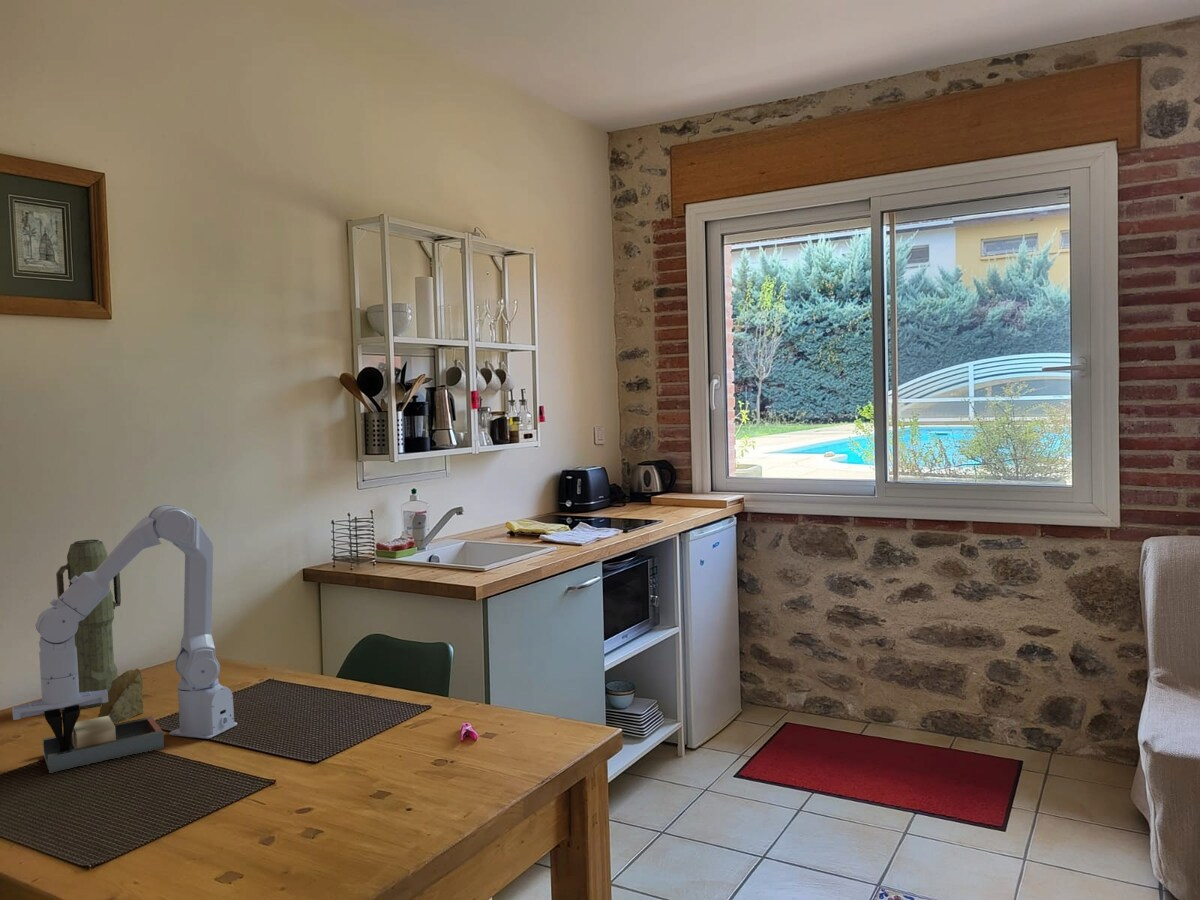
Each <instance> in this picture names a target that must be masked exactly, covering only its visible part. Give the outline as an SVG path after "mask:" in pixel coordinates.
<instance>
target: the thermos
mask: <svg viewBox="0 0 1200 900" xmlns="http://www.w3.org/2000/svg"><path fill="white" fill-rule="evenodd" d="M67 552H68V553H67V555H66V559H67V560H66V561H67V562H66V565H61V566H60V567H59V569H58V570H57V572H56V573H55V575H56V576H55V577H56V590H57V591H56V592H57V599H58V598H59V597H60V596H61V595H62V594H63V593H64V592H65V584H64V574H65V571H66V570H67V578H68V579H67V580H68V582H69V585H68V588H69V587H70V586H71V584H72V582H71V581H70V580H71V579H72V578H73V577H74V576H77V577H79V576H80V575H81V574H82V573H84V572H91V571H95V570H96V569H97V568H98V567H99V566H100V564H101V563H102V562H103V561H104V560H105V559H106V558H107V557H108V552H107V549H106V546H105V544H104V543H103V541H102V540H99V539H85V540H76V541H74V542H73V543H70V545H69V549H68V551H67ZM120 575H121V574H120V572H119V573H118V574H117V575H116V576H115V577H114V578H113V579H112V581H113V592H112V590H111V589H110V592H109V593H108V594H107V595H106V597H105V598H104V599H103V600H102V601H101V602H100V603H99V604H98V605H97V606H96V607H95V608H94V609H93V610H92V611H91V612H90V614H89V615H88V616H87V617H86V618H85V619H84V620H81V621H79V622H78V630H77V632H76V634H75V646H76V647H77V662H78V679H79V693H82V692H92V691H100V690H107V692H109V691H110V688H111V683H112V681H113V680H115V679H116V678H118V677H119V675H118V668H117V666H116V663H115V658H114V657H115V656H114V639H113V622H114V619H115V615H114V613H115V610H116V607H120V606H121V601H122V600H121V599H122V598H121V597H122V596H121V594H122V593H121V579H120ZM113 594H114V596H113ZM102 704H103V703H96V704H91V705H85V706H80V707H79V709H85V708H84V707H90V708H97V707H101V705H102ZM96 706H97V707H96Z"/></svg>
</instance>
